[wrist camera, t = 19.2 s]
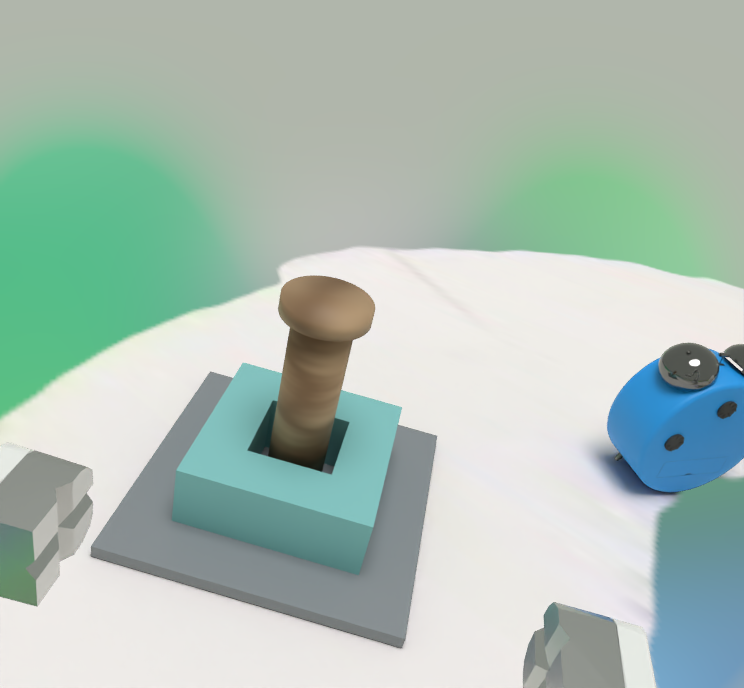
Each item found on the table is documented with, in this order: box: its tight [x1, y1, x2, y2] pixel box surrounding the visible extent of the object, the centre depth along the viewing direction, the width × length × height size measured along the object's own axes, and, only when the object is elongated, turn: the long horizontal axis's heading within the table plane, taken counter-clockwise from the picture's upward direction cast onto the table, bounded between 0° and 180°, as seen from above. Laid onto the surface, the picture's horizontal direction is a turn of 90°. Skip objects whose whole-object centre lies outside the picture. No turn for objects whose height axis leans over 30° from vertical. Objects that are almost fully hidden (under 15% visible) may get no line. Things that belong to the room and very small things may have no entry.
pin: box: [268, 276, 375, 472], centre depth 52 cm, size 6×6×17 cm
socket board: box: [91, 363, 437, 648], centre depth 56 cm, size 22×22×6 cm
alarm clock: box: [607, 343, 744, 492], centre depth 66 cm, size 13×6×15 cm, turn 106°
